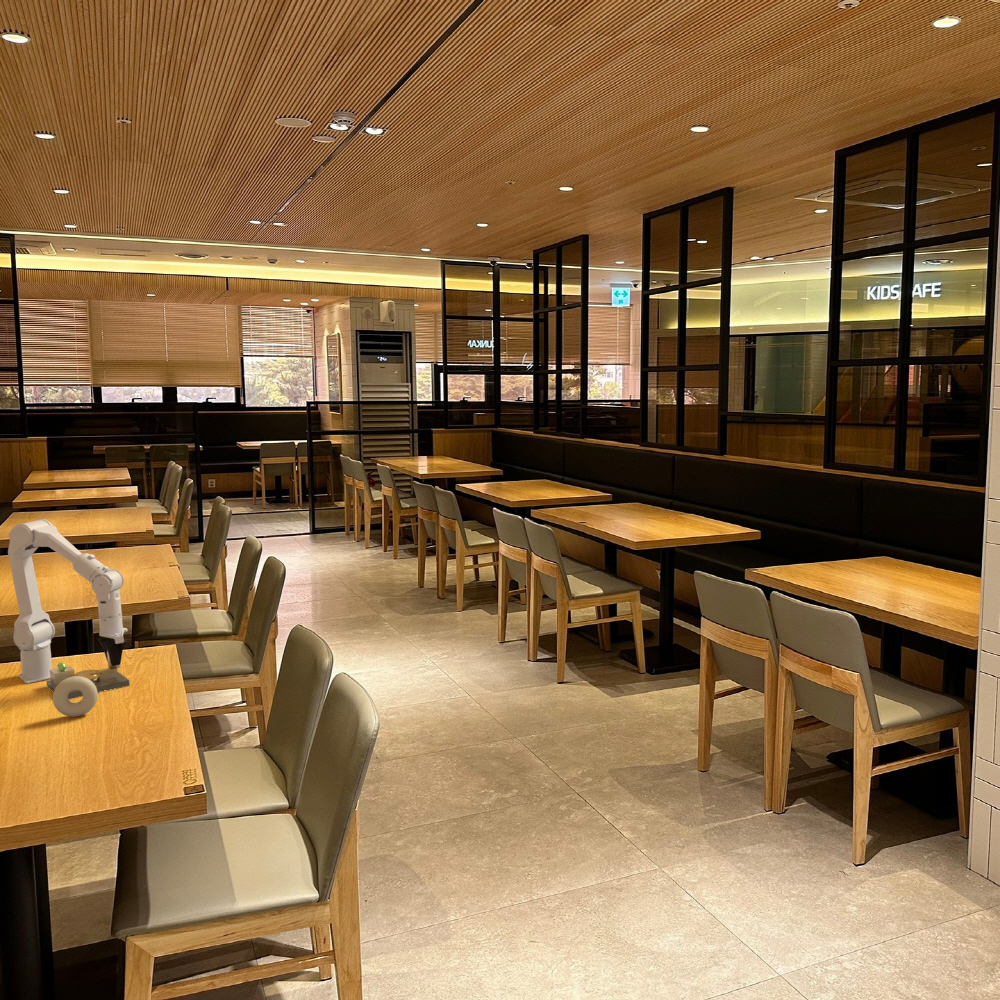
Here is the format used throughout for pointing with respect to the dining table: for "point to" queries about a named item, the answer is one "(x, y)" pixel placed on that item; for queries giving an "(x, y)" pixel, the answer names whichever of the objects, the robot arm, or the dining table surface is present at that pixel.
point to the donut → (80, 707)
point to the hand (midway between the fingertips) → (114, 663)
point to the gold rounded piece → (98, 671)
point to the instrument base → (104, 683)
